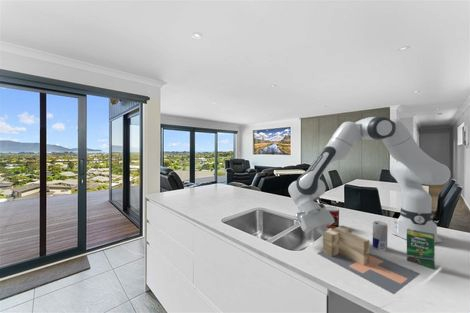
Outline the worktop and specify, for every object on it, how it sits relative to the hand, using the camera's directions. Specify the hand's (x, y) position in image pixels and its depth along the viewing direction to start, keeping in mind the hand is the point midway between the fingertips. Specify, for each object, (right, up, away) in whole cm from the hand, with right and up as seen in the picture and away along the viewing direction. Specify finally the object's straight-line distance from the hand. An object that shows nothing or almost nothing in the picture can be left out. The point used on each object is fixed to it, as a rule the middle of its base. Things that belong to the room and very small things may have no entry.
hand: (326, 236), depth 93 cm
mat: (+8, -5, -14) cm, 17 cm away
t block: (+5, -4, -9) cm, 11 cm away
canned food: (+14, -4, +23) cm, 27 cm away
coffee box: (+29, -5, -15) cm, 33 cm away
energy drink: (+22, -5, -3) cm, 23 cm away
